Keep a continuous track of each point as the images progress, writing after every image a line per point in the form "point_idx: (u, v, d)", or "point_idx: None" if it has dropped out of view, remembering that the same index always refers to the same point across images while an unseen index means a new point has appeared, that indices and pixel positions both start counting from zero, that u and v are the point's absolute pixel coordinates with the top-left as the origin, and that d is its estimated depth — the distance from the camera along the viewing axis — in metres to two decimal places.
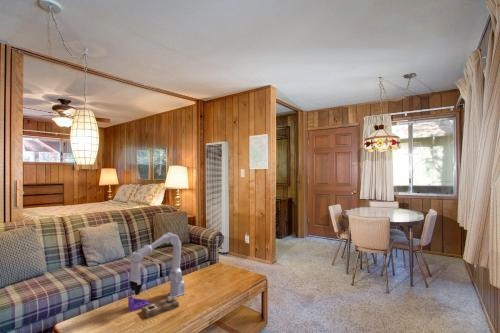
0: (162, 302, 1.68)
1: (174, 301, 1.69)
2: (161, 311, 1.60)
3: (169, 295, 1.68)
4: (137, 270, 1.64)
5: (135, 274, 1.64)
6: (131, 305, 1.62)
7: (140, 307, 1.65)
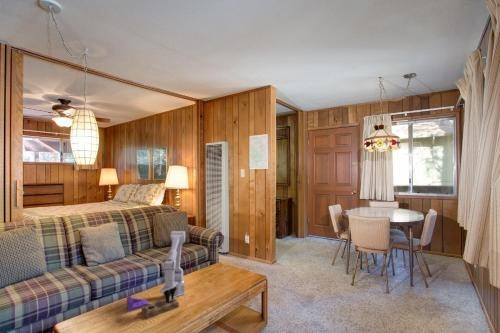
0: (162, 302, 1.68)
1: (174, 301, 1.69)
2: (161, 311, 1.60)
3: None
4: (174, 277, 1.69)
5: (165, 282, 1.67)
6: (130, 305, 1.62)
7: (139, 307, 1.66)
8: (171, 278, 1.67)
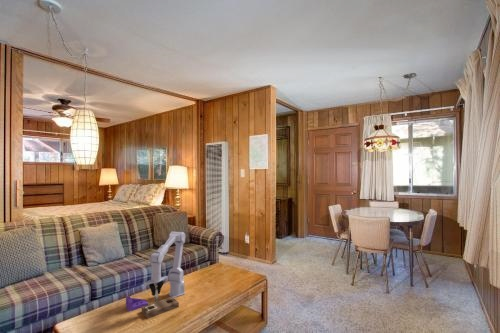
0: (162, 302, 1.68)
1: (174, 301, 1.69)
2: (161, 311, 1.60)
3: (155, 289, 1.61)
4: (160, 271, 1.62)
5: (151, 275, 1.62)
6: (129, 305, 1.62)
7: (138, 307, 1.66)
8: (156, 272, 1.60)
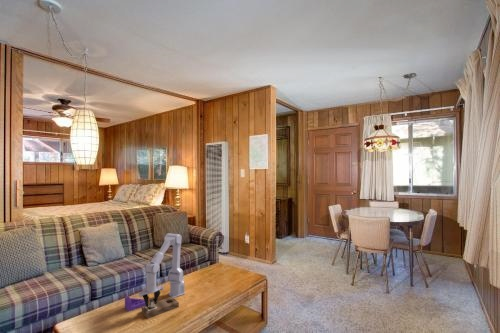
0: (162, 302, 1.68)
1: (174, 301, 1.69)
2: (161, 311, 1.60)
3: (150, 301, 1.60)
4: (155, 281, 1.60)
5: None
6: (129, 305, 1.62)
7: (137, 306, 1.66)
8: (151, 282, 1.58)
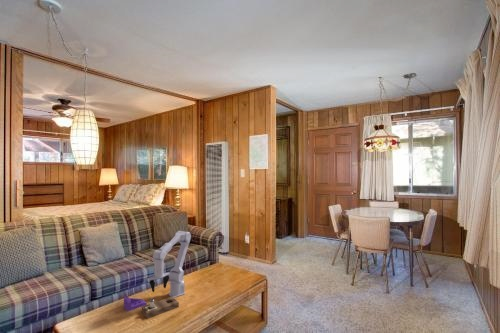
0: (162, 302, 1.68)
1: (174, 301, 1.69)
2: (161, 311, 1.60)
3: (150, 301, 1.60)
4: (162, 267, 1.69)
5: (154, 271, 1.69)
6: (128, 305, 1.62)
7: (137, 306, 1.66)
8: (158, 268, 1.67)
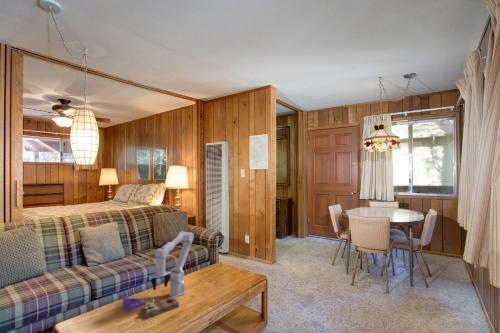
0: (162, 302, 1.68)
1: (174, 301, 1.69)
2: (161, 311, 1.60)
3: (150, 301, 1.60)
4: (164, 266, 1.71)
5: (156, 269, 1.71)
6: (128, 305, 1.62)
7: (136, 306, 1.66)
8: (160, 266, 1.69)
